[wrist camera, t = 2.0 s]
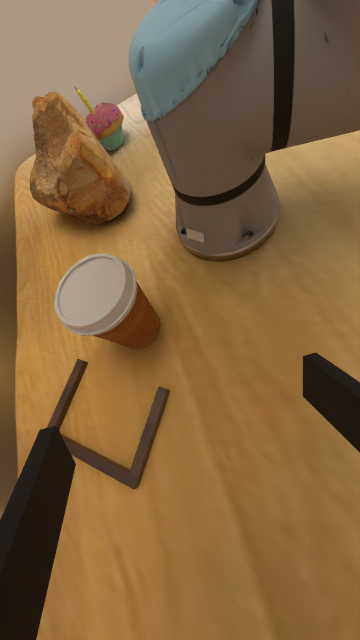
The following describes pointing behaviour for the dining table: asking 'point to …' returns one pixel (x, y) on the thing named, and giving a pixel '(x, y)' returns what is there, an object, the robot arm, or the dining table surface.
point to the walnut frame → (97, 460)
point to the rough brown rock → (73, 165)
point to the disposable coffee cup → (106, 302)
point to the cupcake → (105, 123)
